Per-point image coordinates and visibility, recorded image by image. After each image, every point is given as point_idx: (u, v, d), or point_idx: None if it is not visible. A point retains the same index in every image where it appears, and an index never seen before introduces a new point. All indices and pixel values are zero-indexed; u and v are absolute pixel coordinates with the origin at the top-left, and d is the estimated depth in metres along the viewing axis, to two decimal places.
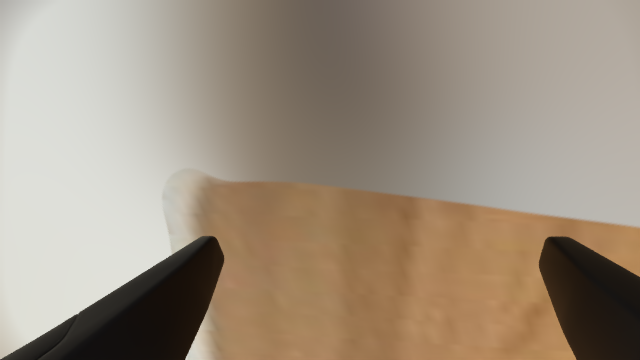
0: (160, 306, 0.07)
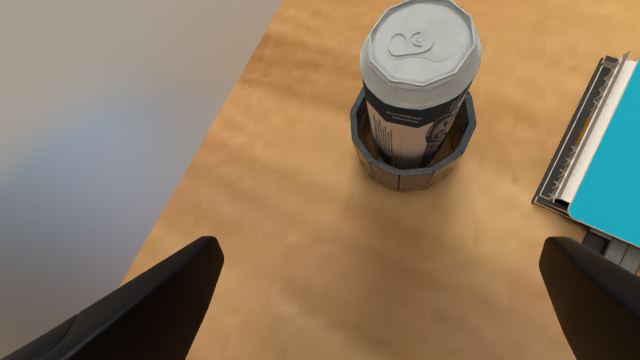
0: (160, 306, 0.07)
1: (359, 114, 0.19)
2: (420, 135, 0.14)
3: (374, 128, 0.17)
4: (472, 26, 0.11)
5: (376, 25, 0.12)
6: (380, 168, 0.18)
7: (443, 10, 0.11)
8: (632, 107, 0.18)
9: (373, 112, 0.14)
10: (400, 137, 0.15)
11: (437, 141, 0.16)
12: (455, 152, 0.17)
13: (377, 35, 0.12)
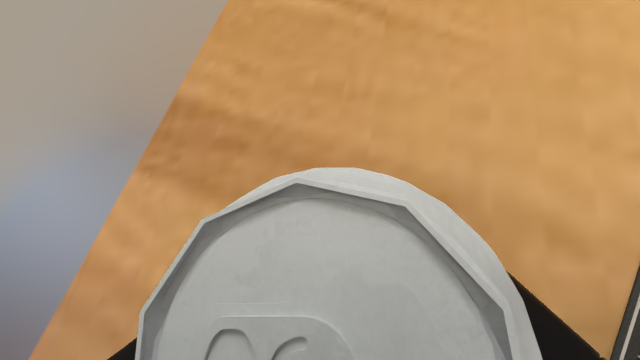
0: None
1: None
2: None
3: None
4: (515, 349, 0.02)
5: (170, 276, 0.03)
6: None
7: (391, 244, 0.03)
8: None
9: None
10: None
11: None
12: None
13: (174, 312, 0.03)
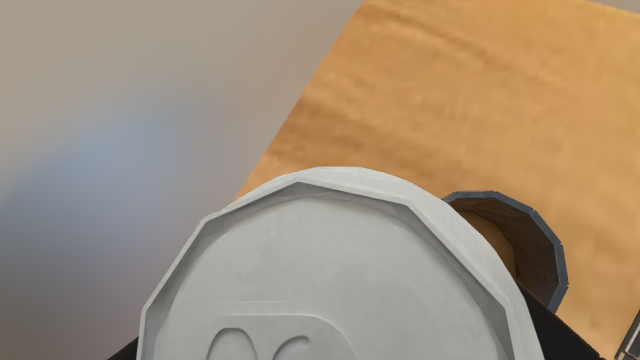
0: None
1: None
2: None
3: None
4: (517, 347, 0.02)
5: (172, 274, 0.03)
6: None
7: (393, 242, 0.03)
8: None
9: None
10: None
11: None
12: None
13: (175, 311, 0.03)
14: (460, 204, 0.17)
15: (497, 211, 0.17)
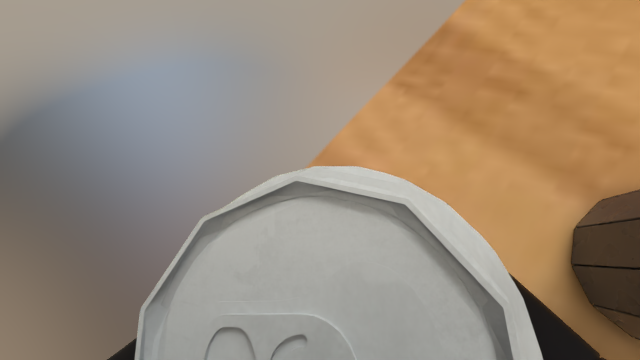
0: None
1: None
2: None
3: None
4: (515, 347, 0.02)
5: (170, 274, 0.03)
6: None
7: (392, 242, 0.03)
8: None
9: None
10: None
11: None
12: None
13: (174, 310, 0.03)
14: None
15: None
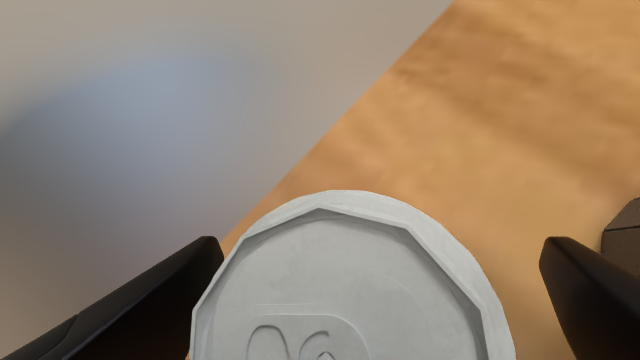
0: (160, 306, 0.07)
1: None
2: None
3: None
4: (489, 340, 0.03)
5: (215, 282, 0.04)
6: None
7: (395, 258, 0.04)
8: None
9: None
10: None
11: None
12: None
13: (219, 312, 0.04)
14: None
15: None
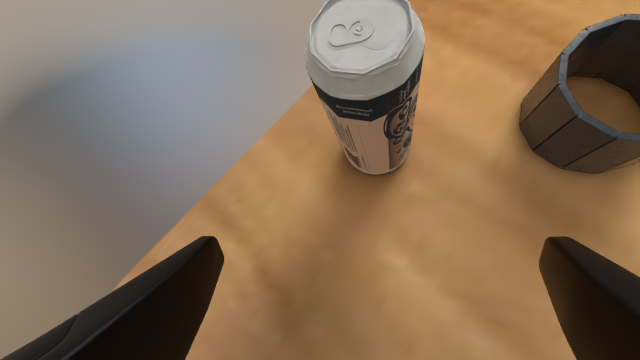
0: (160, 306, 0.07)
1: None
2: (376, 130, 0.14)
3: (335, 127, 0.16)
4: (411, 12, 0.11)
5: (317, 17, 0.11)
6: (589, 125, 0.15)
7: None
8: None
9: (328, 109, 0.14)
10: (359, 134, 0.15)
11: (399, 137, 0.16)
12: None
13: (318, 27, 0.11)
14: (610, 47, 0.17)
15: None
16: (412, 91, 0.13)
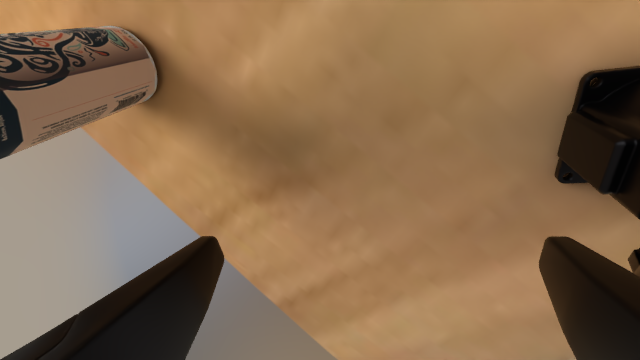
0: (160, 306, 0.07)
1: None
2: (40, 96, 0.12)
3: (71, 128, 0.15)
4: None
5: None
6: None
7: None
8: None
9: (26, 145, 0.13)
10: (57, 112, 0.13)
11: (67, 61, 0.14)
12: None
13: None
14: None
15: None
16: None
